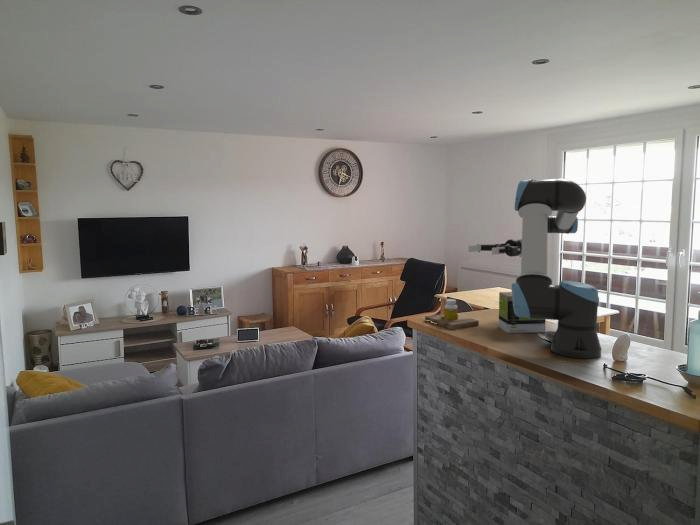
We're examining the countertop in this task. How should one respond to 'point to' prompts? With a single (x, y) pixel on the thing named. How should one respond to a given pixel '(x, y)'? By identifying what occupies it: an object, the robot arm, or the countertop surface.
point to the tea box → (516, 318)
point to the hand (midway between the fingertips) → (480, 249)
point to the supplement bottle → (450, 310)
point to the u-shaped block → (452, 322)
